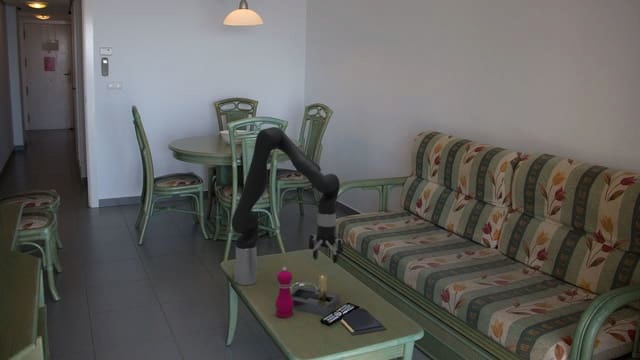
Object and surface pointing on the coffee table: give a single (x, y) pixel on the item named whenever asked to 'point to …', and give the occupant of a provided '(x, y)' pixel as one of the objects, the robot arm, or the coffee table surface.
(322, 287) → the bolt
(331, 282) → the coffee table surface
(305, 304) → the keyhole plate
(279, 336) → the coffee table surface
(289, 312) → the pepper mill
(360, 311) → the wallet
